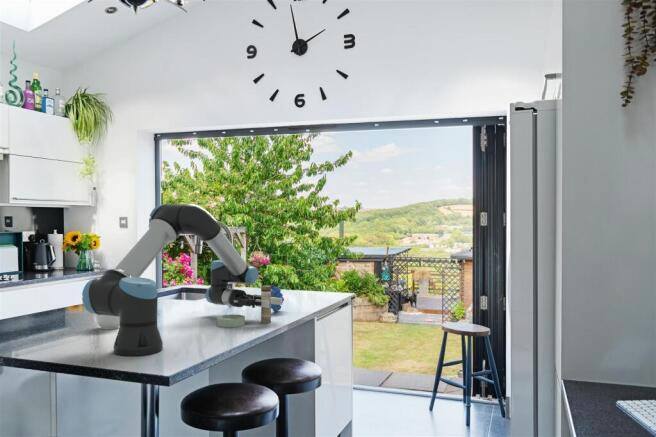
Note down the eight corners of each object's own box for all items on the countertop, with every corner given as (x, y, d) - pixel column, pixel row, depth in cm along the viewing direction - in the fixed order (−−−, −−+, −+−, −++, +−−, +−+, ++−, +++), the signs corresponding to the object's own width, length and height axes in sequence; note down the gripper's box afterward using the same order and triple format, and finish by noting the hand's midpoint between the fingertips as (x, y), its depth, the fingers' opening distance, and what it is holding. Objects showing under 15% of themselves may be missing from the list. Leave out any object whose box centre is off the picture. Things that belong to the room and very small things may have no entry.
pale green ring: (237, 327, 215) (237, 320, 215) (212, 326, 218) (212, 318, 218) (249, 322, 226) (249, 315, 226) (224, 321, 229) (224, 313, 229)
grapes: (278, 314, 244) (278, 287, 244) (265, 313, 247) (265, 287, 247) (289, 310, 255) (289, 284, 255) (276, 309, 258) (276, 284, 258)
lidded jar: (114, 331, 208) (114, 306, 208) (89, 330, 210) (89, 305, 210) (130, 325, 218) (130, 302, 218) (106, 324, 221) (106, 301, 220)
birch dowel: (268, 323, 224) (268, 287, 224) (259, 323, 225) (259, 286, 225) (272, 321, 228) (272, 285, 228) (263, 321, 229) (263, 285, 229)
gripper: (251, 303, 245) (290, 308, 232) (217, 309, 229) (257, 315, 216) (251, 286, 245) (290, 291, 232) (217, 291, 229) (257, 296, 216)
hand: (274, 302), depth 224 cm, fingers open, 8 cm apart
